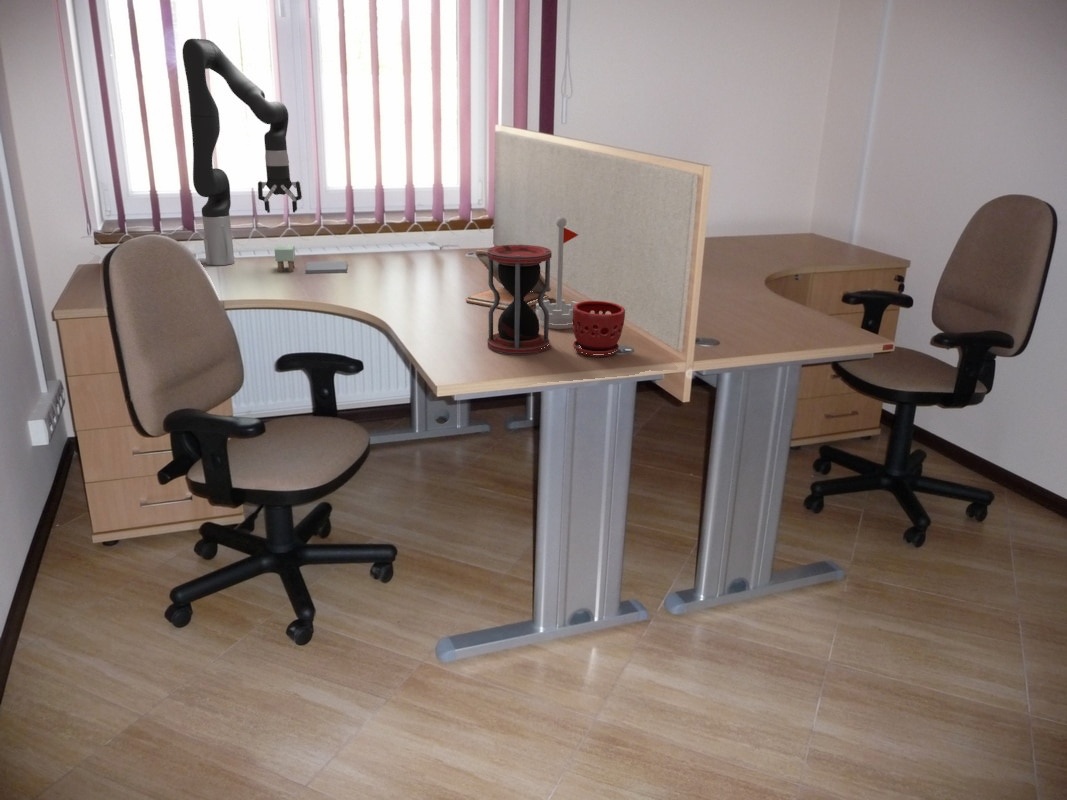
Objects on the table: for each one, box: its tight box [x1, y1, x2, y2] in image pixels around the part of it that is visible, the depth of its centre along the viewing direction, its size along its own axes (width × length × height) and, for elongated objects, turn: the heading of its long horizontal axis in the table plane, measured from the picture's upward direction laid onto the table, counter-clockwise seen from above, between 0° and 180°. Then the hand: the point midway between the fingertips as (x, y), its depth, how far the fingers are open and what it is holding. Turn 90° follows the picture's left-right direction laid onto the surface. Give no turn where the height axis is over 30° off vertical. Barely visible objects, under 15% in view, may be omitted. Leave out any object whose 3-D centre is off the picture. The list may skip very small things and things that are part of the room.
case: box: [465, 249, 552, 311], centre depth 265 cm, size 20×21×16 cm
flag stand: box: [535, 216, 579, 330], centre depth 238 cm, size 13×13×30 cm
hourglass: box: [486, 243, 553, 356], centre depth 218 cm, size 16×16×25 cm
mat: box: [304, 260, 348, 275], centre depth 306 cm, size 14×14×1 cm
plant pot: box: [572, 300, 626, 358], centre depth 217 cm, size 13×13×12 cm
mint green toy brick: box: [274, 244, 296, 273], centre depth 302 cm, size 6×9×8 cm, turn 11°
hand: (281, 212), depth 297 cm, fingers open, 8 cm apart
